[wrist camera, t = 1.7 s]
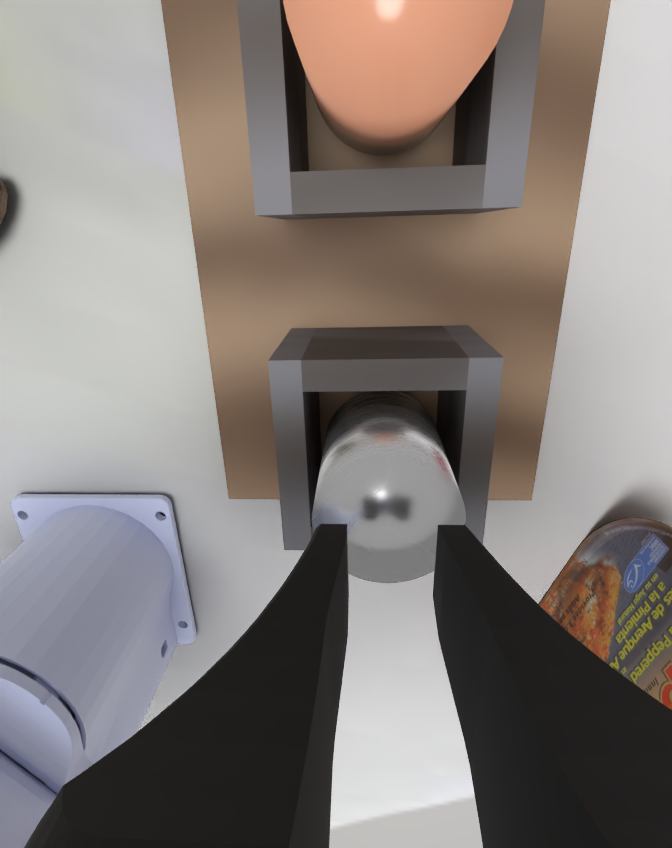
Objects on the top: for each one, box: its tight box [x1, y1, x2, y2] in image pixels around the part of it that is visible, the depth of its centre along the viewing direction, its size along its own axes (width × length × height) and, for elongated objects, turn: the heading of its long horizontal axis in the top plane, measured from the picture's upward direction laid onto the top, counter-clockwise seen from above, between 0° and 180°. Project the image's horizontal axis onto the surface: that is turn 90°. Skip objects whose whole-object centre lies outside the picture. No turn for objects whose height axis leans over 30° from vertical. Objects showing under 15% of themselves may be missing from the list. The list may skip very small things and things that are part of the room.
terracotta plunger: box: [283, 0, 513, 156], centre depth 10 cm, size 4×4×5 cm
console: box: [161, 0, 611, 550], centre depth 16 cm, size 20×14×6 cm
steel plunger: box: [312, 391, 466, 583], centre depth 14 cm, size 4×4×5 cm
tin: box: [539, 518, 672, 710], centre depth 20 cm, size 15×3×8 cm, turn 160°
